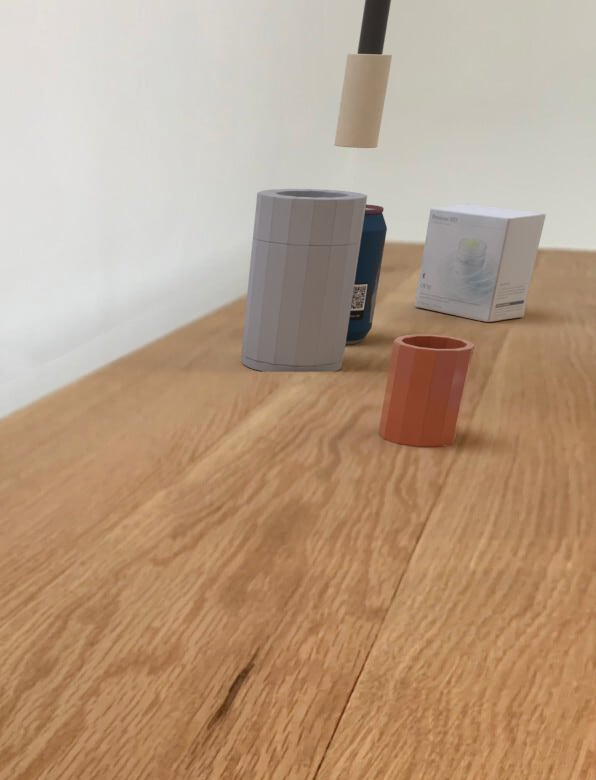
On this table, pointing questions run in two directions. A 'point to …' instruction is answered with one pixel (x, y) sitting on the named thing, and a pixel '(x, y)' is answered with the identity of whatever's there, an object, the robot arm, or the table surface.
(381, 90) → the dark grey rod
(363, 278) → the soda can
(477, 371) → the table surface
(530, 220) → the cosmetics box
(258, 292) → the grey cylindrical canister
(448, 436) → the brush pot
